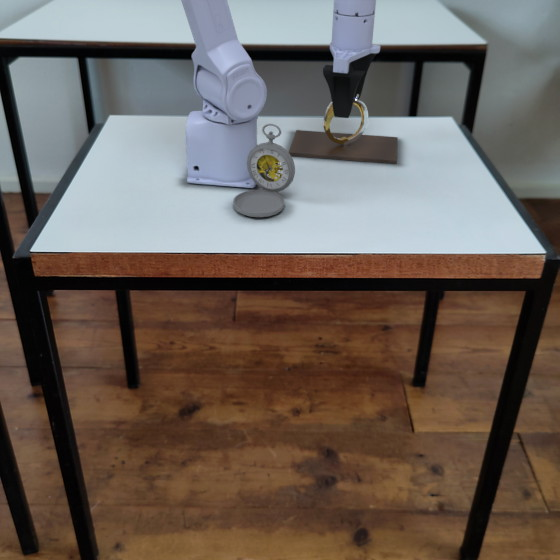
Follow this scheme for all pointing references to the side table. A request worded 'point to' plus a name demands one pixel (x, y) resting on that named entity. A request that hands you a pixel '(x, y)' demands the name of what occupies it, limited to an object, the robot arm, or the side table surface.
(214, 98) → the robot arm
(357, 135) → the ring
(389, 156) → the mat
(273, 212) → the pocket watch
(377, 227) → the side table surface
